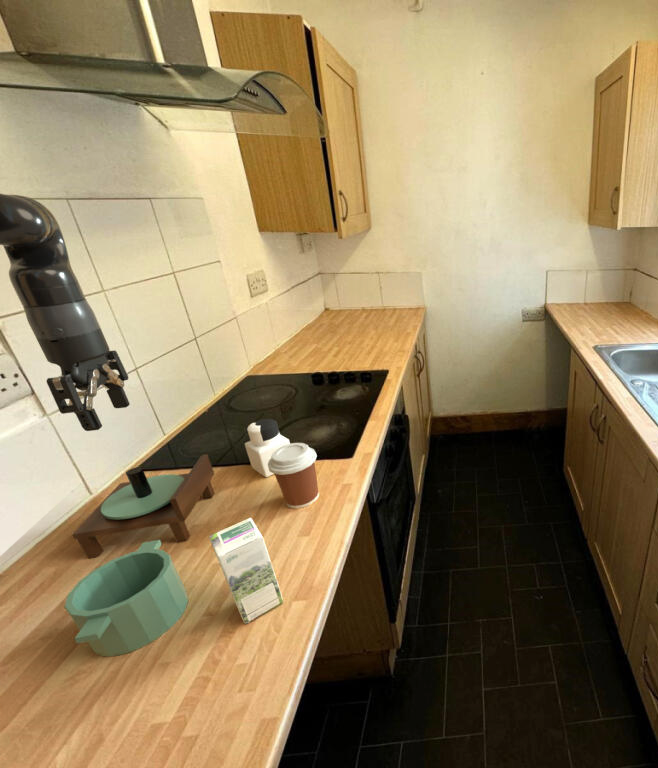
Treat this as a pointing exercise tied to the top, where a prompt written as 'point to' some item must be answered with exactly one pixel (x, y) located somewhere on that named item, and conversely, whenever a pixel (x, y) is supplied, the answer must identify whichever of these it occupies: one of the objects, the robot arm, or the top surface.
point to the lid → (140, 495)
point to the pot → (128, 601)
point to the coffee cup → (295, 473)
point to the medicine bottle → (263, 444)
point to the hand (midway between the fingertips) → (109, 417)
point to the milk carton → (247, 569)
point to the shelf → (168, 514)
